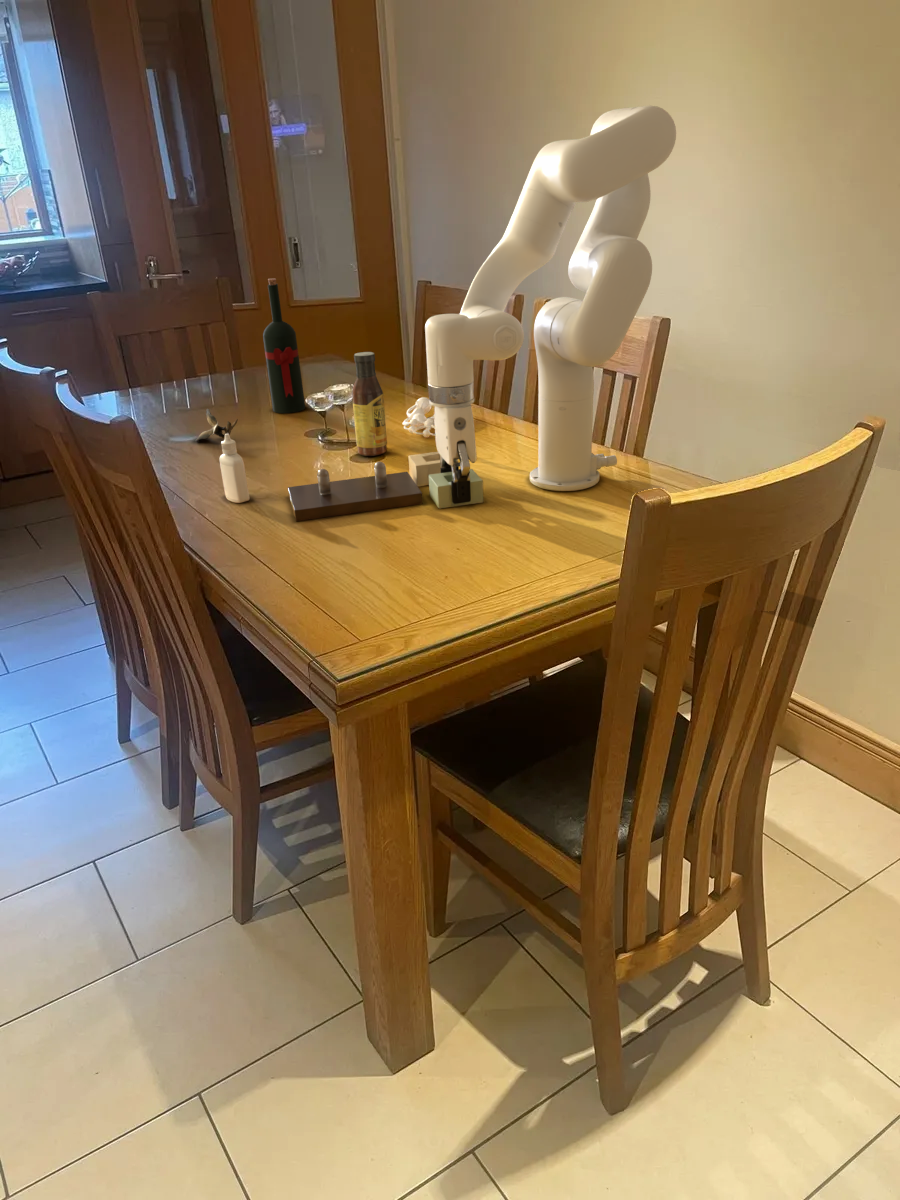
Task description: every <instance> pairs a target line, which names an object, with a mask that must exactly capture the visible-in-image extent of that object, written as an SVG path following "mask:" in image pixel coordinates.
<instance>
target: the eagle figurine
mask: <svg viewBox="0 0 900 1200" xmlns="http://www.w3.org/2000/svg"><path fill="white" fill-rule="evenodd" d="M205 410H206V411H205V416H206V421H207V423H208V424H209V426H211V428H209V429H208V430H205V431H202V432H201V433H200V434H199V435H198V437H197V438H196V439H195V440H194V441H195V442H197V441H199V440H202V439H203V440H205V439H209V438H210V437H211V436H214V435H215V436H218V437H219V438H221V439H225V434H229V436H230V435H231V434H232V433H231V432H232V430H233V429H234V427H235V426H236V425H237V423H238V421H239V419H238V418H236V419H235V420H234V422H233V423H232V422H230V421H229V420H227V423H226V426H223V427H222V426H220V425H219V422H218V420H217V418H216V417H215V415H213V414H212V413H211V411H210V409H209V408H207V409H205ZM223 431H224V433H223Z"/></svg>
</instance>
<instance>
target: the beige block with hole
mask: <svg viewBox="0 0 900 1200" xmlns="http://www.w3.org/2000/svg"><path fill="white" fill-rule="evenodd" d="M440 458H441V455H440V454H439V453H438V451H431V452H424V453H416V454H409V455H408V457H407V460H408V471H409V472H408V473H409V475H410V476H411V478H412V479H413V481H414V482H415V483H416V485H417V486H418V487H424V486H429V475H430V474H438V473H441V469H440V468H443V467H441V465H440ZM458 462H459V459H457V463H458Z"/></svg>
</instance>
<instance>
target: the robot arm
mask: <svg viewBox="0 0 900 1200" xmlns="http://www.w3.org/2000/svg"><path fill="white" fill-rule="evenodd" d="M676 139H677V128H676V124H675V121H674V119H673V117H672V115H670V113H669V112H668V111H666V110H665V109H664V108H662V107H660V106H656V105H641V106H639V105H638V106H633V107H622V108H614V109H611V110H609V111H605V112H604V113H602V114H601V115H600V116H599V117H598V118H597V119H596V120H595V121H594V123H593V125H592V128H591V130H590V134H589V135H587V136H584V137H582V138H575V139H572V138H571V139H560V140H554V141H551V142H548V143H547V144H545V145H544V146H542V148H540V150H539V151H538V153H537V154H536V155H535V158H534V159H533V162H532V164H531V167H530V170H529V172H528V174H527V177H526V179H525V182H524V184H523V186H522V189H521V192H520V193H519V197H518V200H517V202H516V204H515V207H514V210H513V211H512V215H511V217H510V219H509V221H508V225H507V227H506V229H505V231H504V233H503V235H502V237H501V238H500V240H499V242H498V243H497V244H496V245H495V246H494V248H493V249H492V251H491V252H490V254H489V255H488V256H487V257H486V259H485V261H484V262H483V263H482V265H481V266H480V267H479V269H478V270H477V272H476V274H475V275H474V278H473V280H472V282H471V284H470V286H469V288H468V291H467V294H466V296H465V298H464V300H463V304H462V306H461V309H460V312H459V313H442V314H441V313H440V314H435V315H432V316H430V317H429V318H428V319H427V320H426V322H425V325H424V332H425V333H424V334H425V352H426V353H425V354H426V369H427V370H426V372H427V385H428V387H427V388H428V389H427V390H428V399H429V404H430V405H432V407H434V409H433V410H434V413H435V425H434V426H435V429H434V434H435V436H434V438H435V446H436V450H437V451H436V452H438V453H439V454H440V455H441V458H440V465H441V467H443V468H440V469H441V473H445V472H452V476H453V481H451V489H452V502H453V503H454V504H458V503H465V502H470V501H471V489H470V471H469V470H470V469H471V463H472V464H474V463H476V462H477V459H478V458H477V457H478V456H477V445H476V444H477V443H476V430H475V421H474V413H473V408H472V404H474V403H475V378H474V375H475V374H474V361H503V360H507V359H509V358H512V357H513V356H515V355H516V354H517V353H518V352H519V351H520V349H521V348H522V346H523V345H524V344H523V343H524V340H525V332H524V328H523V325H522V323H521V322H520V321H519V320H518V318H516V317H515V316H514V315H512V314H510V313H508V312H506V308H507V306H508V303H509V301H510V299H511V298H512V296H513V294H514V292H515V291H516V290H517V288H518V287H519V285H520V284H521V283H522V282H523V281H524V280H526V278H527V277H529V276H530V275H531V274H533V273H534V272H536V271H538V270H540V269H541V268H542V267H544V266H545V265H546V264H547V263H549V262H550V261H552V259H553V258H554V256H555V254H556V251H557V248H558V246H559V243H560V241H561V238H562V237H563V234H564V231H565V229H566V227H567V224H568V222H569V220H570V218H571V215H572V212H573V210H574V209H575V207H576V205H577V203H589V202H592V201H595V203H594V206H593V208H592V211H591V213H590V215H589V218H588V220H587V222H586V224H585V226H584V228H583V231H582V233H581V235H580V237H579V239H578V242H577V243H576V246H575V247H574V250H573V252H572V254H571V257H570V259H569V263H568V266H567V267H568V268H567V269H568V270H567V274H568V278H569V281H570V283H571V284H572V285H573V287H574V288H575V289H577V290H578V291H580V292H582V293H585V294H584V297H583V299H579V298H575V297H570V296H559V297H555V298H553V299H551V300H548V301H547V302H546V303H545V304H543V306H542V307H541V308H540V309H539V311H538V312H537V314H536V317H535V320H534V324H533V341H534V348H535V354H536V361H537V375H538V377H537V378H538V379H537V380H538V394H537V396H538V401H537V402H538V403H537V404H538V406H537V407H538V408H537V409H538V411H537V412H538V416H537V418H538V419H537V421H538V422H537V426H538V427H537V428H538V429H537V430H538V431H537V432H538V433H537V435H538V438H537V441H538V442H537V443H538V445H537V446H538V447H537V449H538V451H537V453H538V454H537V459H538V460H537V461H538V462H537V463H538V464H537V465H538V466H537V467H535V468H533V469H532V470H531V471H530V472H529V482H530V483H531V484H532V485H534V486H535V487H538V488H539V489H543V490H549V491H556V492H574V491H580V490H585V489H589V488H591V487H594V486H595V485H597V484H598V483H599V482H600V472H599V470H601V468H605V467H606V468H608V467H614V466H617V464H618V458H617V456H616V455H615V454H612V455H605V454H604V453H596V454H594V453H593V450H592V449H593V423H594V421H593V420H594V419H593V418H594V396H595V395H594V392H595V376H594V375H595V374H594V368H593V367H595V368H596V367H599V366H602V365H603V364H605V363H607V362H608V361H609V360H611V358H613V356H614V355H615V354H616V353H617V351H618V349H619V348H620V346H621V345H622V343H623V341H624V339H625V337H626V335H627V333H628V330H629V329H630V327H631V325H632V324H633V321H634V320H635V317H636V315H637V313H638V311H639V309H640V307H641V304H642V302H643V301H644V298H645V296H646V294H647V292H648V289H649V287H650V284H651V279H652V275H653V259H652V256H651V252H650V251H649V249H648V248H647V247H646V245H645V244H644V243H643V242H641V240H638V238H639V235H640V234H641V231H642V228H643V226H644V223H645V221H646V219H647V216H648V213H649V209H650V206H651V184H650V177H649V173H651V172H653V171H654V170H656V169H658V168H659V167H661V165H663V164H664V163H665V162H666V161H667V159H668V158H669V157H670V155H671V154H672V152H673V150H674V148H675V145H676ZM457 459H458V463H457ZM456 471H457V472H456Z"/></svg>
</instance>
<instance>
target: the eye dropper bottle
mask: <svg viewBox="0 0 900 1200" xmlns="http://www.w3.org/2000/svg"><path fill="white" fill-rule="evenodd" d="M224 434H225V438H224V439H223V440H222V441H221V442H220V445H221V450H222V454H220V456H219V459H218V460H219V461H218V462H219V468H220V472H221V478H222V485H223V490H224V496H225V498H226V499H227V500H228V501H229V502H230V503H231V502H232V503H235V504H240V503H245V502H248V501H250V492H249V491H250V490H249V486H248V485H249V484H248V480H247V474H246V468H245V463H244V459H243V457H242V456H241V455H240V454H239V453H238V450H237V443H236V440H235V439H232V438H231V436H230V435H229V434H226V433H224Z"/></svg>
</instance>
